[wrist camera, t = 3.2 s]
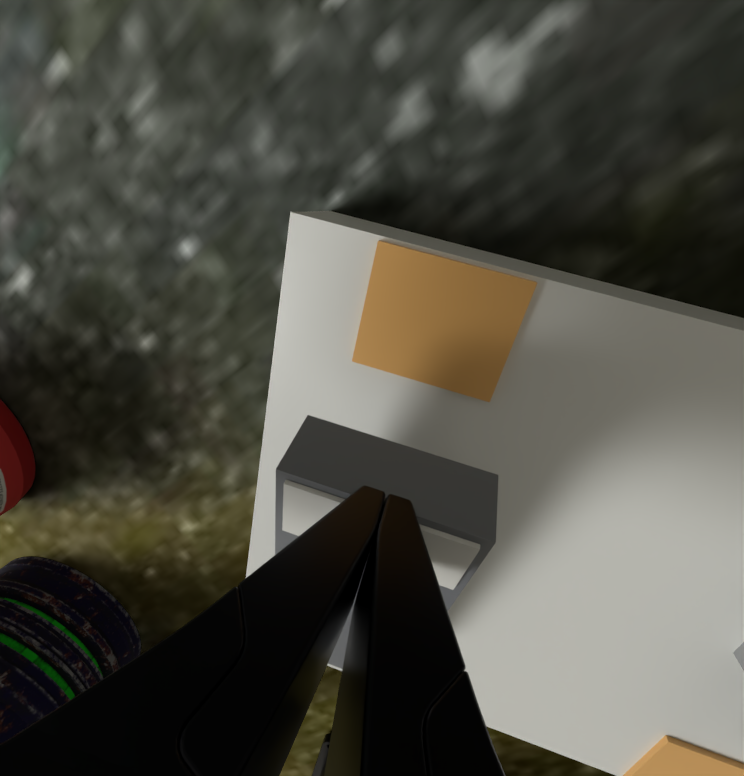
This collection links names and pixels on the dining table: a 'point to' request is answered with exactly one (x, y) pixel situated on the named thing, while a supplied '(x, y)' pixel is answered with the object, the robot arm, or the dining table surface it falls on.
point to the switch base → (546, 477)
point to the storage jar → (55, 639)
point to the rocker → (393, 476)
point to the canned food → (14, 460)
